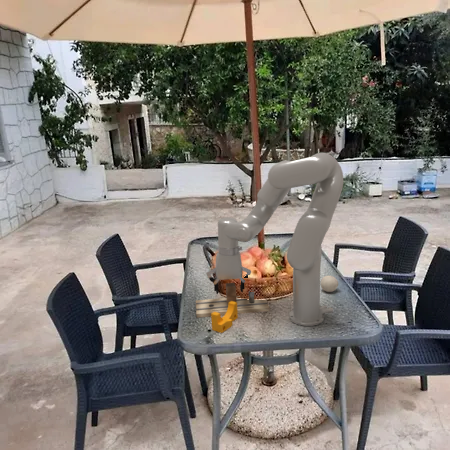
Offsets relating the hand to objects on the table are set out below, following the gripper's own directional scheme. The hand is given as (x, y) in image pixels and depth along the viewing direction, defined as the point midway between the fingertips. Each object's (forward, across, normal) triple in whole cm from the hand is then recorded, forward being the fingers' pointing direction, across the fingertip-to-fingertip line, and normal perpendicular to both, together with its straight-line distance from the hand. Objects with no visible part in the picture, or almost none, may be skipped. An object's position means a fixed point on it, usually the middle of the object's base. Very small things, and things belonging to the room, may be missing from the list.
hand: (229, 291), depth 160 cm
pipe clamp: (+7, +2, +14) cm, 15 cm away
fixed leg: (+5, -9, 0) cm, 10 cm away
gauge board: (+7, -1, 0) cm, 7 cm away
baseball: (+6, -43, -7) cm, 44 cm away
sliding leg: (+5, -1, 0) cm, 5 cm away
